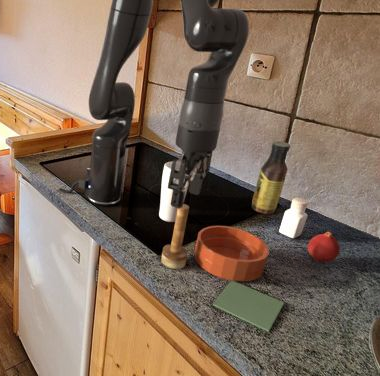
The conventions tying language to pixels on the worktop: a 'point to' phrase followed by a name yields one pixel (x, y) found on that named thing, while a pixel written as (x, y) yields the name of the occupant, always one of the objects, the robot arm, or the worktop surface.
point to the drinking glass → (167, 196)
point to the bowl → (231, 253)
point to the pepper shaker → (294, 218)
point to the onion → (323, 248)
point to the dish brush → (177, 242)
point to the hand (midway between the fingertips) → (185, 200)
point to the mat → (249, 305)
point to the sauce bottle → (271, 179)
